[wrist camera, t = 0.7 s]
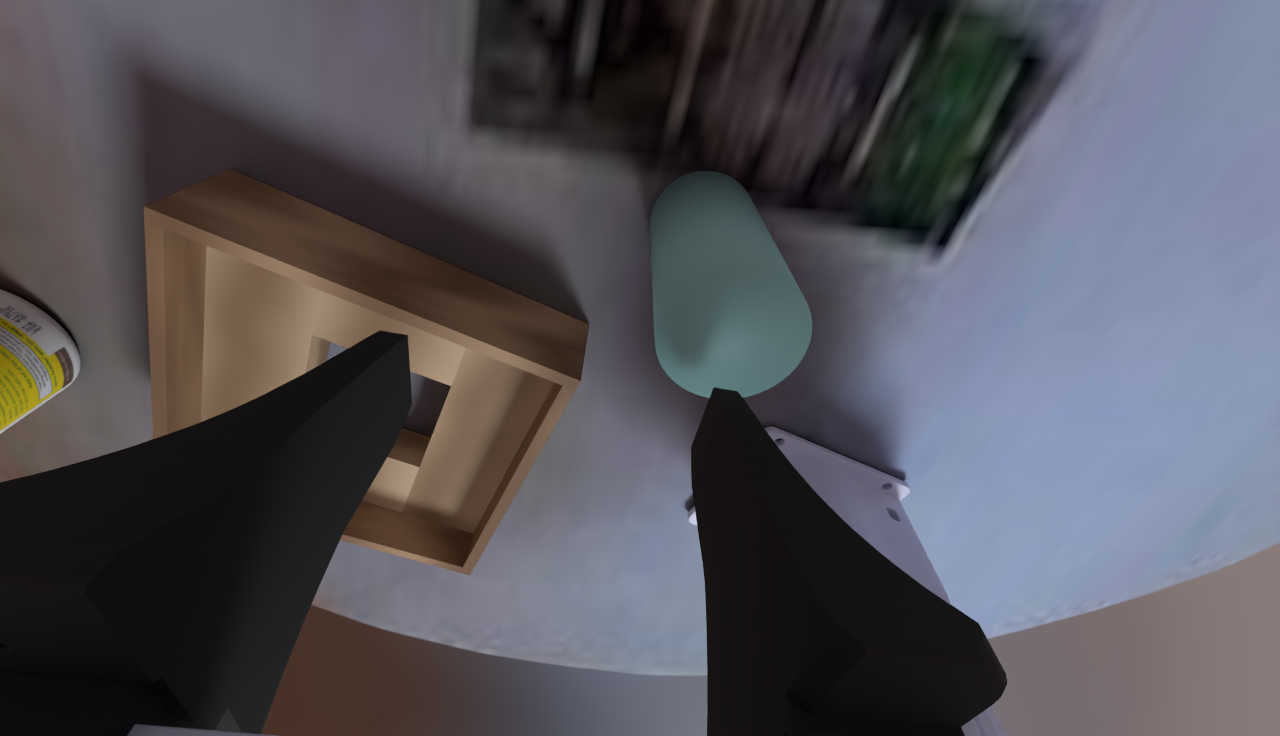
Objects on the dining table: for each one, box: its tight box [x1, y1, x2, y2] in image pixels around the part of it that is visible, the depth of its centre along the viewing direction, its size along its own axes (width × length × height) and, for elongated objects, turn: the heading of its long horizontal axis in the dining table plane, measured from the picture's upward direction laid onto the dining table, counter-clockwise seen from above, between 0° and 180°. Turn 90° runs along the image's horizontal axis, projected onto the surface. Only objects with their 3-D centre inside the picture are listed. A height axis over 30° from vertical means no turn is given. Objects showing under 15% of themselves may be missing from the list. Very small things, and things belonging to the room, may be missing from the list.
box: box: [144, 169, 589, 575], centre depth 22 cm, size 14×14×4 cm
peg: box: [650, 171, 812, 398], centre depth 17 cm, size 4×4×8 cm
